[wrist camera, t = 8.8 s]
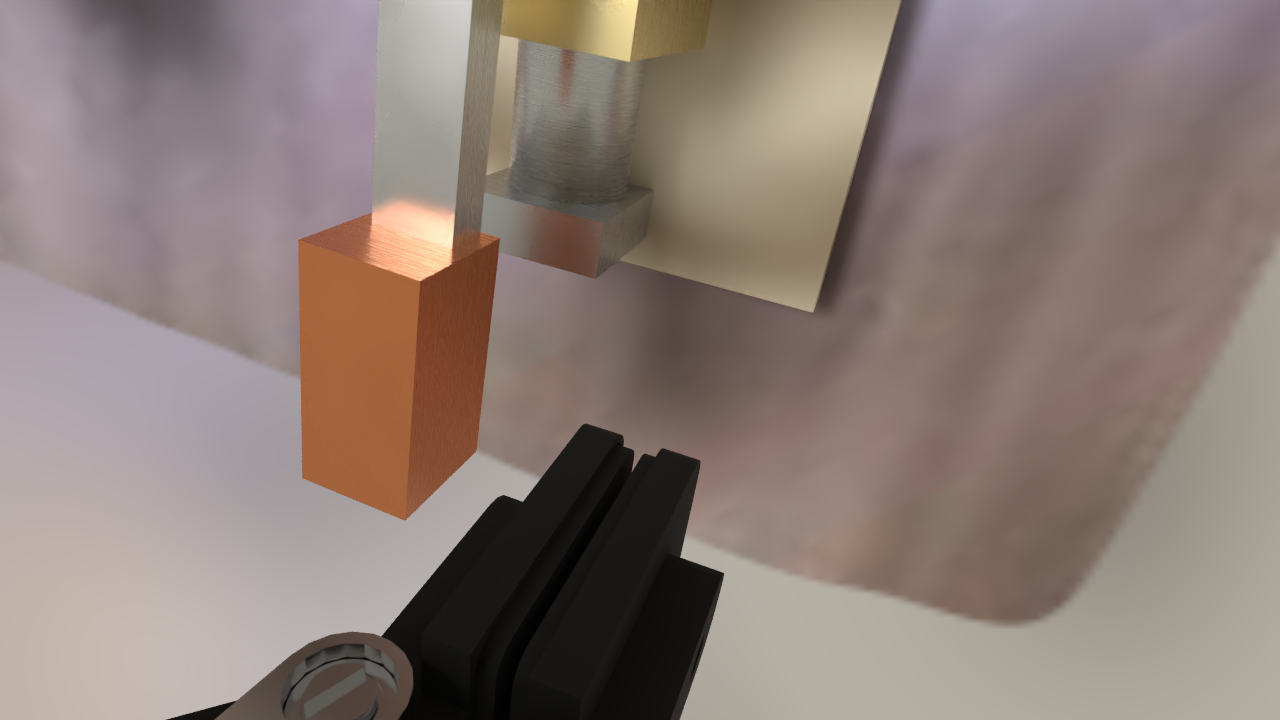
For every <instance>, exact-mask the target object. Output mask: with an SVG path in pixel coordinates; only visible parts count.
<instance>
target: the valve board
mask: <svg viewBox="0 0 1280 720" xmlns="http://www.w3.org/2000/svg"><path fill="white" fill-rule="evenodd" d="M902 2H903V0H713V2H712V8H711V14H710V19H709V25H708V30H707V36H706V42H705V47H704V48H701V49H696V50H690V51H685V52H680V53H674V54H669V55H664V56H658V57H653V58H648V59H646V65H645V72H644V79H643V85H642V92H641V99H640V106H639V112H638V119H637V126H636V133H635V139H634V146H633V153H632V160H631V167H630V173H629V180H628V184H631V185H636V186H640V187H644V188H648V189H652V190H654V193H653V200H652V206H651V212H650V218H649V224H648V230H647V236H646V238H645V239H644V240H643V241H642V242H640V243H639V244H638V245H637V246H636V247H634V248H633V249H632V250H631V251H629V252H628V253H627V254H626V255H624V256H623V257H622V258H621V259H619V260H620V261H624V262H627V263H631V264H635V265H638V266H642V267H646V268H650V269H653V270H657V271H661V272H664V273H668V274H672V275H675V276H679V277H683V278H687V279H690V280H694V281H698V282H701V283H705V284H709V285H712V286H716V287H720V288H723V289H727V290H731V291H735V292H738V293H742V294H746V295H749V296H753V297H757V298H760V299H764V300H768V301H772V302H775V303H779V304H783V305H786V306H790V307H794V308H797V309H801V310H805V311H809V312H812V313H813V311H814V309H815V306H816V304H817V301H818V299H819V296H820V292H821V289H822V285H823V282H824V278H825V274H826V271H827V267H828V264H829V260H830V257H831V253H832V250H833V246H834V243H835V239H836V236H837V232H838V228H839V225H840V221H841V218H842V214H843V211H844V207H845V204H846V200H847V197H848V193H849V189H850V186H851V182H852V179H853V175H854V172H855V168H856V165H857V161H858V158H859V154H860V150H861V147H862V143H863V140H864V136H865V133H866V129H867V126H868V122H869V119H870V115H871V111H872V108H873V104H874V101H875V97H876V94H877V90H878V87H879V83H880V80H881V76H882V72H883V69H884V65H885V62H886V58H887V55H888V51H889V48H890V44H891V41H892V37H893V33H894V30H895V26H896V23H897V19H898V16H899V12H900V9H901V5H902ZM517 52H518V39H517V38H512V37H507V36H503V35H500V42H499V52H498V62H497V72H496V82H495V92H494V102H493V112H492V122H491V132H490V142H489V152H488V162H487V172H486V176H487V175H489V174H492V173H495V172H497V171H500V170H503V169H505V168H508V167H509V158H510V145H511V132H512V118H513V105H514V92H515V78H516V65H517Z"/></svg>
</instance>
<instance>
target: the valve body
mask: <svg viewBox="0 0 1280 720" xmlns="http://www.w3.org/2000/svg"><path fill="white" fill-rule="evenodd" d="M712 2H713V0H504V1H503V11H502V22H501V32H500V35H503V36H507V37H512V38H517V39H518V52H517V65H516V78H515V92H514V105H513V118H512V132H511V145H510V158H509V167H508V168H505V169H503V170H500V171H497V172H495V173H492V174H489V175H487V176H486V182H485V192H484V202H483V212H482V223H481V232H483V233H486V234H489V235H492V236H495V237H498V238H500V244H499V252H502V253H505V254H509V255H512V256H516V257H520V258H523V259H527V260H530V261H534V262H537V263H541V264H545V265H548V266H552V267H555V268H559V269H563V270H566V271H570V272H573V273H577V274H581V275H584V276H588V277H591V278H595V279H596V278H597V277H599V276H600V275H601V274H602V273H603V272H605V271H606V270H607V269H608V268H610V267H611V266H612V265H613V264H615V263H616V262H617V261H618V260H619V259H621V258H622V257H623V256H624V255H626V254H627V253H628V252H629V251H631V250H632V249H633V248H634V247H636V246H637V245H638V244H639V243H640V242H642V241H643V240H644V239H645V238H646V236H647V230H648V224H649V218H650V212H651V206H652V200H653V193H654V190H652V189H648V188H644V187H640V186H636V185H631V184H628V180H629V173H630V167H631V160H632V153H633V146H634V139H635V133H636V126H637V119H638V112H639V106H640V99H641V92H642V85H643V79H644V72H645V65H646V59H648V58H653V57H658V56H664V55H669V54H674V53H680V52H685V51H690V50H696V49H701V48H704V47H705V42H706V36H707V30H708V25H709V19H710V14H711V8H712Z"/></svg>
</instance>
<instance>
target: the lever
mask: <svg viewBox="0 0 1280 720" xmlns="http://www.w3.org/2000/svg"><path fill="white" fill-rule="evenodd" d="M503 1H504V0H378V30H377V63H376V97H375V131H374V164H373V198H372V213H370V214H367V215H364V216H362V217H359V218H356V219H354V220H351V221H348V222H346V223H343V224H340V225H337V226H335V227H332V228H329V229H327V230H324V231H321V232H319V233H316V234H313V235H310V236H308V237H305V238H302V239H300V240H298V242H299V300H300V359H301V418H302V473H303V474H302V475H303V476H302V477H303V479H306V480H308V481H311V482H313V483H315V484H318V485H321V486H323V487H325V488H328V489H330V490H332V491H335V492H337V493H340V494H342V495H344V496H347V497H349V498H352V499H354V500H357V501H359V502H361V503H364V504H366V505H369V506H371V507H374V508H376V509H378V510H381V511H383V512H386V513H388V514H390V515H393V516H395V517H398V518H400V519H402V520H406V519H407V518H408V517H409V516H410V515H411V514H412V513H413V512H414V511H416V509H418V508H419V507H420V505H422V504H423V503H424V502H425V501H426V500H427V499H428V498H429V497H430V496H431V495H432V494H433V493H434V492H435V491H436V490H437V489H438V488H439V487H440V486H441V485H442V484H443V483H444V482H445V481H446V480H447V479H448V478H449V477H450V476H451V475H452V474H453V473H454V472H455V471H456V470H458V469H459V468H460V467H461V466H462V465H463V464H464V462H466V461H467V460H468V459H469V458H470V457H471V456H472V455H473V454H474V453H475V452H476V448H477V440H478V431H479V422H480V413H481V404H482V395H483V386H484V377H485V368H486V360H487V351H488V342H489V333H490V324H491V315H492V306H493V297H494V288H495V280H496V271H497V262H498V253H499V244H500V238H498V237H495V236H492V235H489V234H486V233H483V232H481V223H482V212H483V202H484V192H485V182H486V172H487V162H488V152H489V142H490V132H491V122H492V112H493V102H494V92H495V82H496V72H497V62H498V52H499V42H500V32H501V22H502V11H503Z"/></svg>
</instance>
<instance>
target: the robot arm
mask: <svg viewBox="0 0 1280 720" xmlns="http://www.w3.org/2000/svg"><path fill="white" fill-rule="evenodd" d="M623 444H624V439H623V436H622V435H620V434H617V433H614V432H611V431H608V430H604V429H601V428H598V427H595V426H592V425H589V424H583V425H582V426H581V427H580V429H579V430H578V431H577V432H576V434H575V435H574V436H573V438H572V439H571V440H570V442H569V443H568V444H567V445H566V447H565V448H564V449H563V451H562V452H561V453H560V455H559V456H558V457H557V458H556V460H555V461H554V462H553V464H552V465H551V466H550V467H549V469H548V470H547V471H546V473H545V474H544V475H543V477H542V478H541V479H540V480H539V482H538V483H537V485H536V486H535V487H534V488H533V490H532V491H531V492H530V493H529V495H528V496H527V497H526V499H525V500H524V501H523V502H522V501H519V500H516V499H513V498H510V497H507V496H505V495H502V496H500V497H498V498H497V499H496V500H495V501H494V502H493V503H491V504H490V506H489V507H488V508H487V509H486V510H485V512H484V513H483V514H482V515H481V516H480V518H479V519H478V520H477V521H476V523H475V524H474V525H473V526H472V527H471V529H470V530H469V531H468V532H467V533H466V535H465V536H464V537H463V538H462V540H461V541H460V542H459V543H458V544H457V546H456V547H455V548H454V549H453V551H452V552H451V553H450V554H449V556H447V558H446V559H445V560H444V562H442V564H441V565H440V566H439V567H438V569H437V570H436V571H435V572H434V573H433V575H432V576H431V577H430V578H429V580H428V581H427V582H426V583H425V584H424V585H423V587H422V588H421V589H420V591H419V592H418V593H417V594H416V595H415V596H414V598H413V599H412V600H411V601H410V602H409V604H408V605H407V606H406V607H405V609H404V610H403V611H402V612H401V613H400V615H399V616H398V617H397V618H396V619H395V621H394V622H393V623H392V624H391V626H390V627H389V628H388V629H387V630H386V632H385V633H384V634H383V635H382V636H381V637H380V636H377V635H375V634H370V633H359V632H347V633H340V634H333V635H329V636H326V637H324V638H321V639H319V640H316V641H313V642H311V643H309V644H307V645H306V646H304V647H303V648H301V649H300V650H298V651H297V652H295V653H294V654H292V655H291V656H289V657H288V658H287V659H286V660H285V661H283V662H282V663H281V664H280V665H279V666H277V667H276V668H275V669H274V670H273V671H272V672H270V673H269V674H268V675H267V676H266V677H265V678H263V679H262V680H261V681H260V682H259V683H257V684H256V685H255V686H254V687H253V688H251V689H250V690H249V691H248V692H247V693H245V694H244V695H243V696H242V697H241V698H240V699H238V700H237V701H233V702H230V703H226V704H222V705H219V706H216V707H211V708H208V709H204V710H200V711H197V712H193V713H189V714H185V715H182V716H178V717H175V718H171V719H167V720H680V716H681V714H682V711H683V708H684V705H685V702H686V699H687V697H688V694H689V691H690V688H691V685H692V682H693V679H694V676H695V673H696V671H697V667H698V665H699V661H700V658H701V655H702V652H703V649H704V646H705V643H706V639H707V636H708V632H709V629H710V626H711V623H712V619H713V616H714V612H715V608H716V604H717V600H718V597H719V593H720V589H721V586H722V582H723V576H724V573H722V572H719V571H716V570H714V569H710V568H708V567H705V566H702V565H700V564H697V563H694V562H691V561H688V560H685V559H683V558H680V556H681V551H682V547H683V542H684V538H685V533H686V529H687V524H688V520H689V515H690V511H691V506H692V502H693V497H694V493H695V488H696V484H697V479H698V475H699V470H700V460H697V459H694V458H691V457H688V456H685V455H682V454H679V453H676V452H673V451H670V450H666V449H663V448H662V449H661V450H660V451H659V453H658V454H657V456H656V457H654V456H651V455H648V454H643V455H642V457H641V458H640V460H639V462H638V463H637V465H636V467H635V468H634V470H633V472H632V466H633V460H634V450H632V449H629V448H626V447H623ZM631 472H632V473H631Z"/></svg>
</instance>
